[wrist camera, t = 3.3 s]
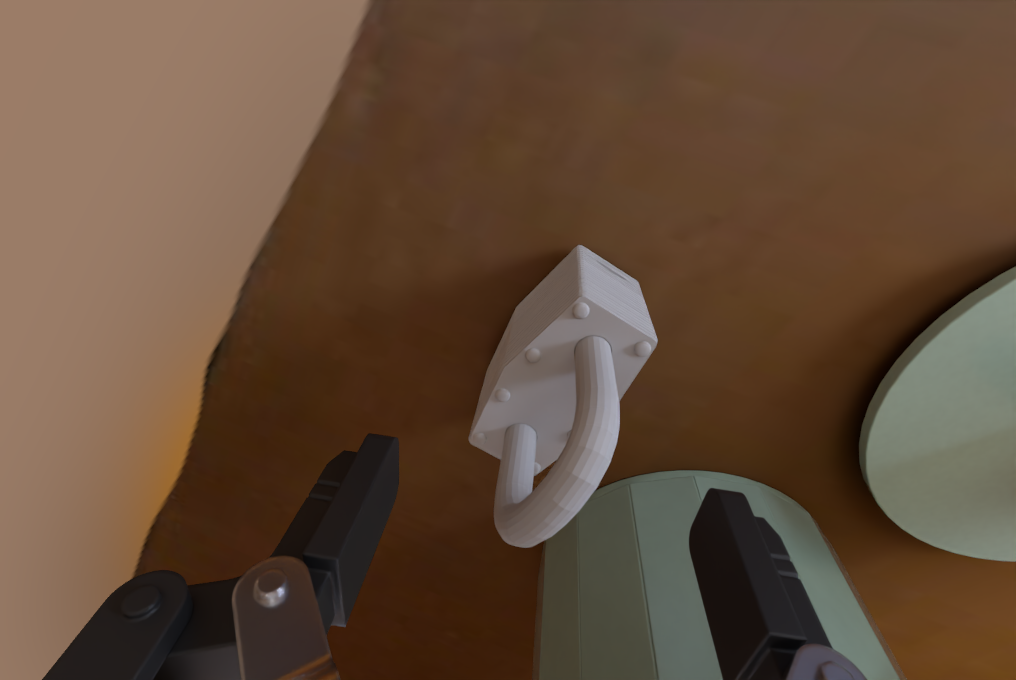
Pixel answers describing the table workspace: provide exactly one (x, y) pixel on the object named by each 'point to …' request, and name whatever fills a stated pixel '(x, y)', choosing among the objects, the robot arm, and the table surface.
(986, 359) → the pot lid
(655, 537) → the pot
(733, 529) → the robot arm
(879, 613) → the table surface
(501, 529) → the padlock
